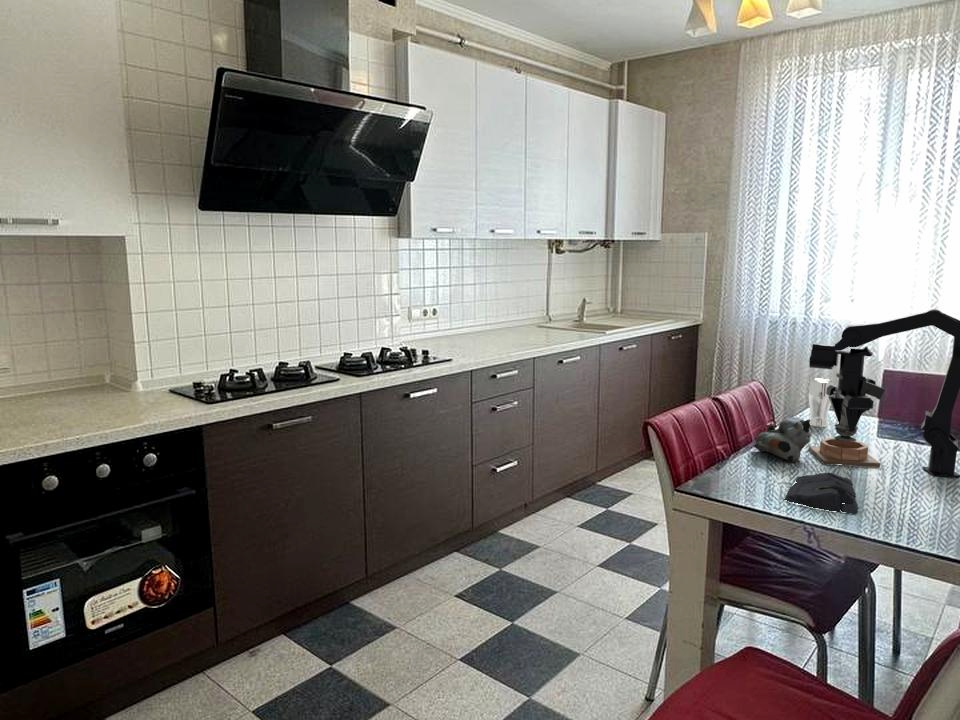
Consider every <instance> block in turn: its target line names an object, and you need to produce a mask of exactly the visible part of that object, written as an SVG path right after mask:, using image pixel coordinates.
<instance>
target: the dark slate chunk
mask: <svg viewBox="0 0 960 720" xmlns="http://www.w3.org/2000/svg"><path fill="white" fill-rule="evenodd" d="M796 478H797V479H796ZM796 478H795V479H796V482H797V483H795V484H794V485H793V486H792V485H791V486H790V487H789V488H790V489H789V488H788V490H789V491H788V490H787V493H786V495H785V497H784V498H785V499H783V501H784V500H787V501H789V502H794V503H798V504H803V505H806V506H809V507H813V508H819V509H824V510H829V511H837V512H840V510H841V511H842V512H847V513H846V514H849V513H852V514H851V515H857V514H858V512H859V506H858V502H857V500H856V497H857V496H856V492H855V487H854V483H853V481H852V479H849V478H848V477H843V476H841V475H836V474H835V473H832V472H823V473H822V472H821V473H815V474H808V475H807V474H806V475H802V476H797V477H796ZM842 503H845V504H842ZM856 513H857V514H856Z"/></svg>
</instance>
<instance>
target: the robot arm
mask: <svg viewBox="0 0 960 720" xmlns="http://www.w3.org/2000/svg"><path fill="white" fill-rule="evenodd" d="M931 326H933V327H935V328H936V329H938V330H940V331H942V332H945V333H946V334H948V335H950V336H953V341H952V353H951V358H950V361H949V363H948V368H947V370H946V373H945V377H944V381H943V383H942V386H941V389H940V392H939V396H938V399H937V403H936V405H935V407H934V409H933V410H932V412H930V411H927V410H926V411H925V415H924V417H925V418H924V420H923V422H922V423H921V424H920V426H921V429H920V431H923V433H922V434H923V435H922V437H923V439H924V440H925V442H926V443H927V444H929V445H930V451H929V452H930V453H929V458H928V466H922V469H923V470H924V471H925V472H928V473H929V474H930V475H931V476H936V477H951V478H952V477H953V478H960V473H958V472H956V471H955V469H956V463H957V454H958V451H959V442H958V439H957V438H956V437H955V436H954V435H953V434H952V433H951V429H952V428H951V427H952V419H953V418H952V417H953V411H954V408H955V405H956V402H957V398H958V397H959V392H960V320H959V319H958V318H955V317H953V316H950V315H948V314H947V313H945V312H942V311H941V310H939V309H937V308H932V309H929V310H927V311H926V310H925V311H923V312H919V313H918V312H917V313H915V314H914V313H913V314H910V315H906V316H902V317H897V318H894V319H893V318H892V319H889V320H886V321H880V322H869V323H868V322H867V323H866V322H865V323H854V324H851V325H848V326H847V327H846V328H845V329H844V330H843V331H842V333H841V336H840V337H841V339H839V341H836V342H835V343H834V344H833V345H832V344H830V345H829V344H822V343H818V342H817V343H816V342H815V343H812V346H811V351H810V352H811V353H810V355H809V362H808V363H809V368H812V369H821V370H833V369H834V367H838V363H839V370H838V371H839V372H836V375H835V377H836V378H838V382H837V383H838V384H833V385H830V386H828V387H827V392H826V394H827V395H829V396H828V398H829V400H830V402H831V407H832V409H833V412H834V414H835V417H836V420H837V422H838V424H839V423H840V420H841V413H840V412H841V411H842V403H843V401H844V405H845V406H843V409H844V413H845V416H846V420H847V424H848V427H849V430H850V431H854V430H855V428H856V426H857V425H858V423H859V421H860V419H861V417H862V415H863V414H864V413H865V412H869V411H870V410H872V409H874V403H875V402H874V400H873V399H872V398H873V397H874V398H875V399H877V400H882V398H883V396H884V394H885V392H886V388H884V387H881V386H879V385H878V384H876V381H875V380H874V379H871V378H868V377H866V376H865V375H864V364H865V357H872V356H873V354H874V353H873V352H872V351H871V350H870V349H869V347H868V346H865V347H863V348H859V347H861V346H864V345H866V344H868V343H870V342H873V341H875V340H877V339H880V338H883V337H886V336H891V335H895V334H900V333H903V332H904V333H906V332H908V331H913V330H917V329H922V328H926V327H931ZM848 348H850V349H849V350H850V351H848V350H847V351H844V350H845V349H848ZM839 355H840V361H839ZM868 395H869V396H870V397H869V396H868ZM871 397H872V398H871ZM857 427H858V426H857Z"/></svg>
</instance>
